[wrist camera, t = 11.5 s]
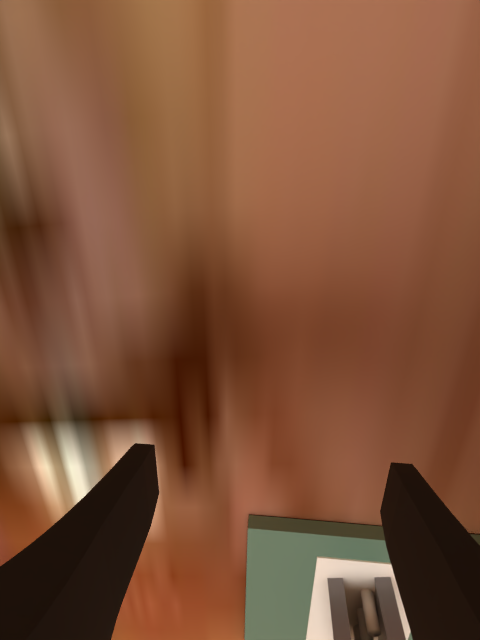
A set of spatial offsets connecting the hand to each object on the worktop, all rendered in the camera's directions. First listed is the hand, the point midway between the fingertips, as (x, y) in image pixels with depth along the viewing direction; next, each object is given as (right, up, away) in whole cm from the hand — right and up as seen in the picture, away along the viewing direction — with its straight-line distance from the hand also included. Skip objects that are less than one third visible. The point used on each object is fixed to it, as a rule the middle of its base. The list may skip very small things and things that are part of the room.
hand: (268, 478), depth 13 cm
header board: (+8, -15, +16) cm, 23 cm away
